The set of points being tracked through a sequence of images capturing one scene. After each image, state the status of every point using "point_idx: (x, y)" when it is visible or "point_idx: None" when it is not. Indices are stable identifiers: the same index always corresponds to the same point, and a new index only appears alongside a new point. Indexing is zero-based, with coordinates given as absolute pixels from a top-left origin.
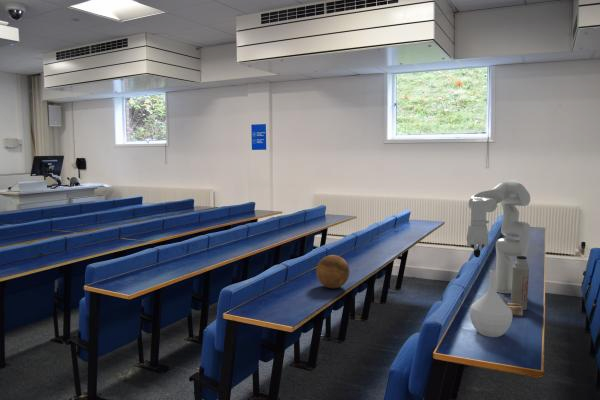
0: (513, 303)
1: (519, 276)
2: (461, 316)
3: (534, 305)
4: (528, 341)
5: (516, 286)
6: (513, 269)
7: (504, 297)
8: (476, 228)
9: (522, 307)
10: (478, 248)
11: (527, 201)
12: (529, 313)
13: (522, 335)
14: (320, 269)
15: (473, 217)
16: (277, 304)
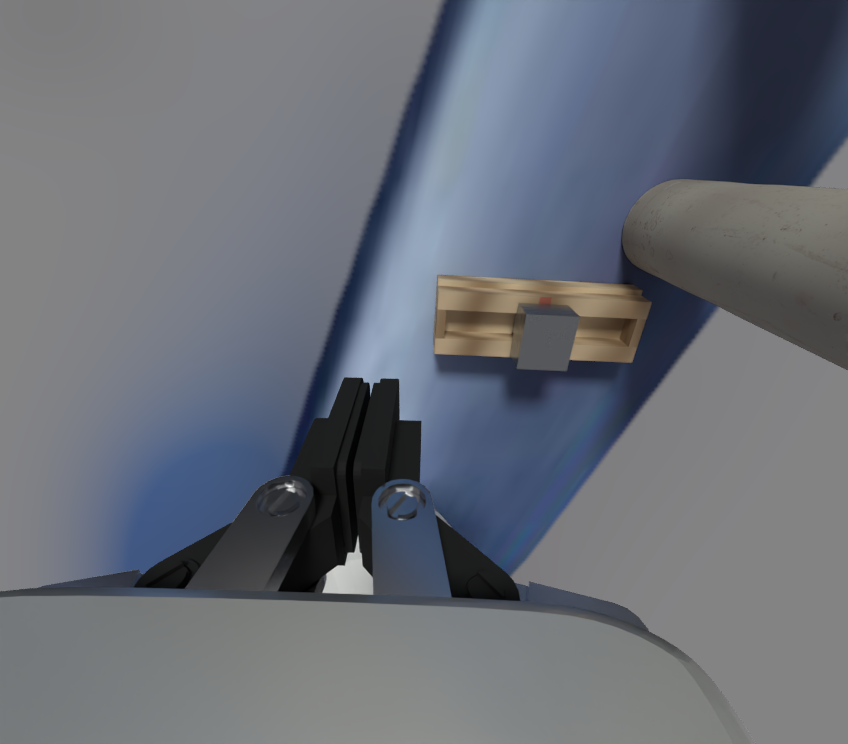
0: (618, 303)
1: (793, 342)
2: (317, 389)
3: (793, 177)
4: (497, 557)
5: (713, 300)
6: (828, 305)
7: (571, 327)
8: None
9: (630, 361)
10: (370, 571)
11: None
12: (665, 319)
13: (500, 525)
14: None
15: None
16: None
